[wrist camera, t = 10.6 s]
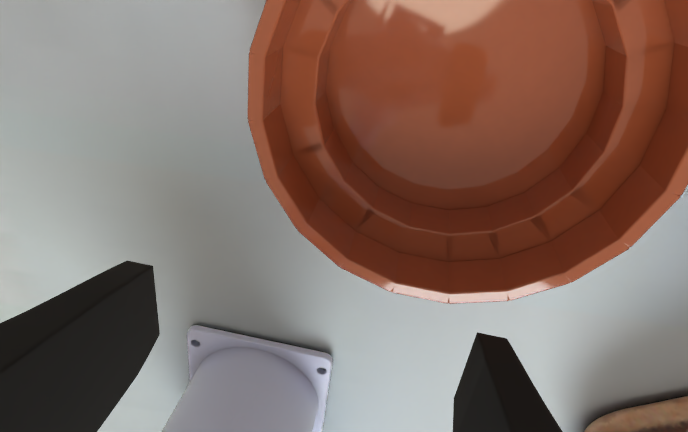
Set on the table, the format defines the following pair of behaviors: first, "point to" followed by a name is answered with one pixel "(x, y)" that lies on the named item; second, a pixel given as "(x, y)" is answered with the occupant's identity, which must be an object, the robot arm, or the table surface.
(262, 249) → the table surface
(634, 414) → the case
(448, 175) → the bowl
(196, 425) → the robot arm
